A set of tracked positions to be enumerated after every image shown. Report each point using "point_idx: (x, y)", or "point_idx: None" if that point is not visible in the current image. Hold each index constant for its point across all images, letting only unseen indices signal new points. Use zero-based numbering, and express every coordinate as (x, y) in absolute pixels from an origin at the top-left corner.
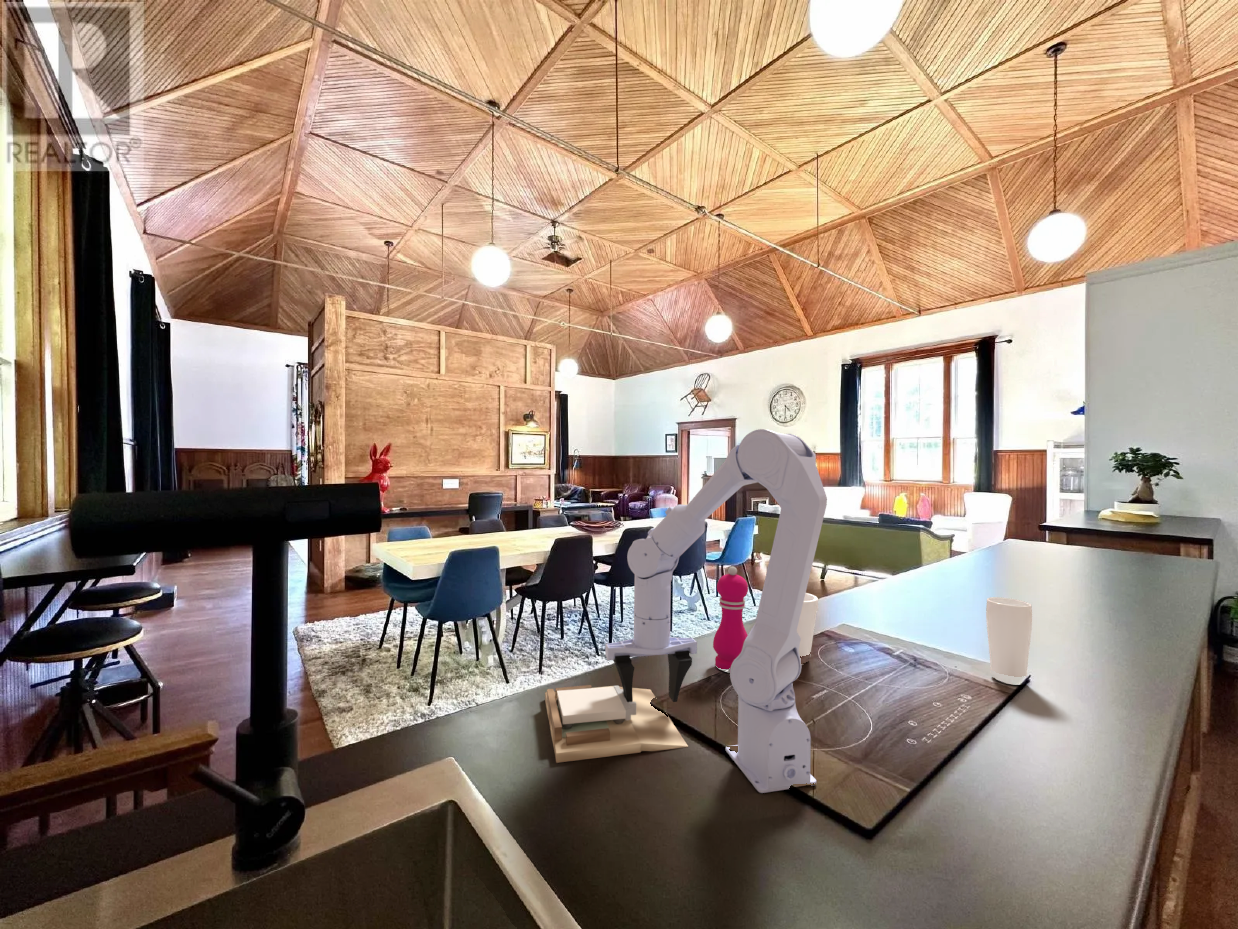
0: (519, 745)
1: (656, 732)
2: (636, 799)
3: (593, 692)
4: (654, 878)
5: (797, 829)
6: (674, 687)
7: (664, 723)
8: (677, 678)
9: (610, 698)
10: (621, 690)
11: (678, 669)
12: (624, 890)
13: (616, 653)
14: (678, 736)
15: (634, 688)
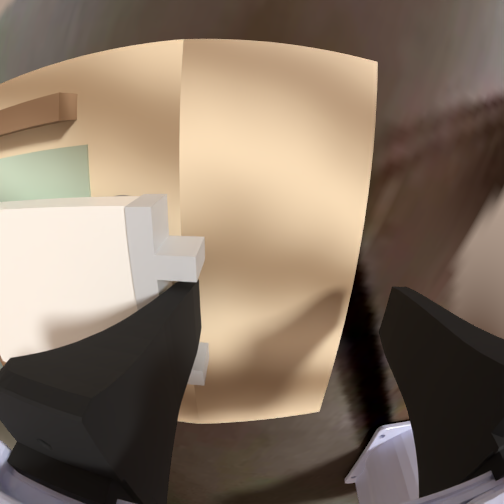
0: None
1: (260, 386)
2: (173, 463)
3: (40, 251)
4: (178, 501)
5: (339, 497)
6: (400, 375)
7: (312, 339)
8: (414, 424)
9: (104, 320)
10: (157, 270)
11: (421, 469)
12: None
13: (35, 500)
14: (318, 386)
15: (301, 51)
